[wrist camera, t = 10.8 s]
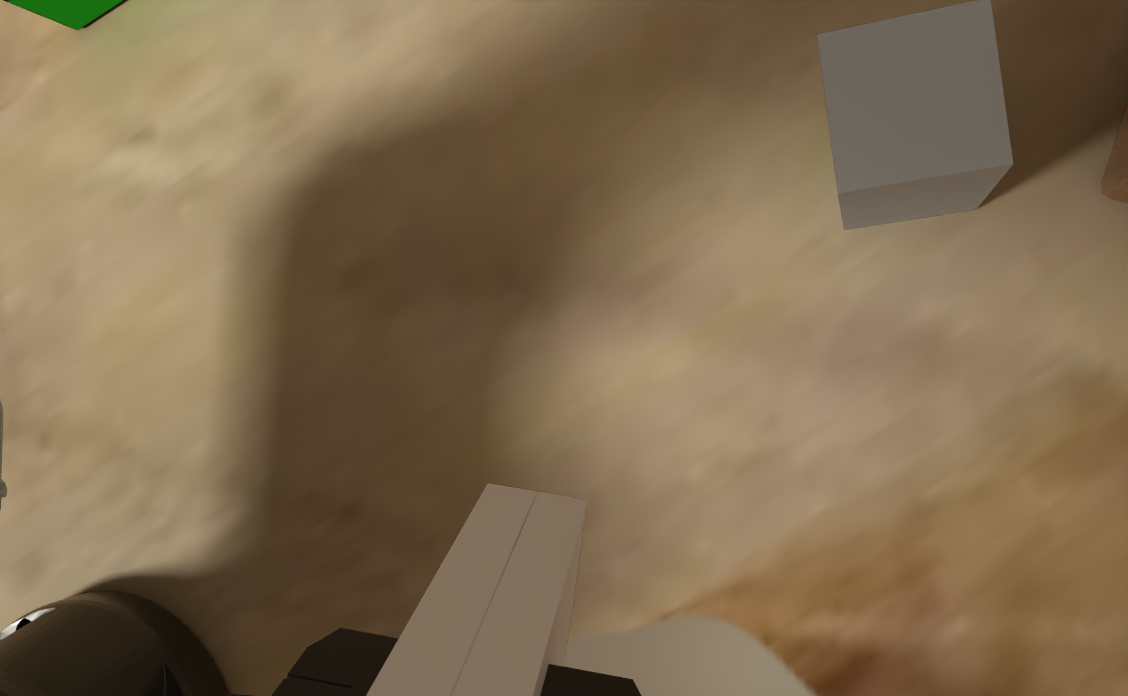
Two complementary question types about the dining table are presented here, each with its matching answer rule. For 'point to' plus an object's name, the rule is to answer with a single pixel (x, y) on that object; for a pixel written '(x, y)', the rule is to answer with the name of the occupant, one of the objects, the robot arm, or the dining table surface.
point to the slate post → (915, 114)
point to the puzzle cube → (68, 10)
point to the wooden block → (1118, 165)
